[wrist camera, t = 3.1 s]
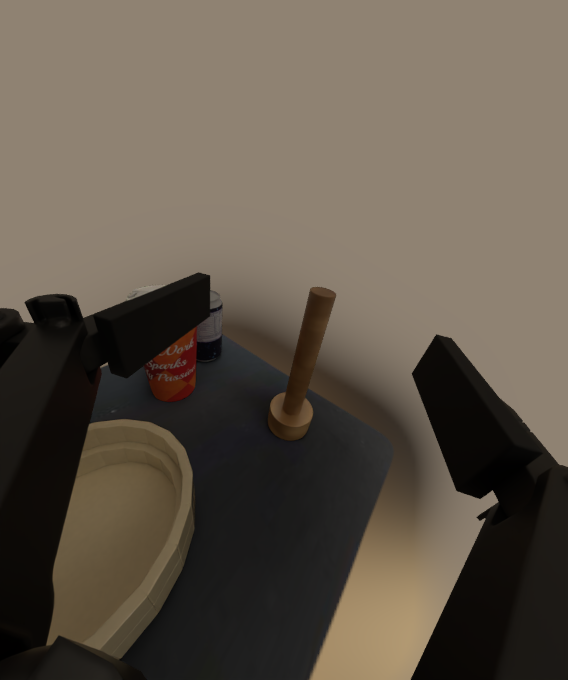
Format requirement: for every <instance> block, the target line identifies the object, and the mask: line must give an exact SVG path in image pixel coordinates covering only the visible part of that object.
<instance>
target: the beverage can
mask: <svg viewBox="0 0 568 680" xmlns="http://www.w3.org/2000/svg"><path fill="white" fill-rule="evenodd" d="M221 347H222V301H221V300H220V295H219V294H218V293H217V292H215V291H211V290H210V317H209V318H207V319H206V320H205V321H203V322H202V323H200V324H199V325H198V326H197V348H196V360H198V361H201V362H208V361H212V360H214V359H215V358H217V357H218V356H219V355H220V354H221Z"/></svg>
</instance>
